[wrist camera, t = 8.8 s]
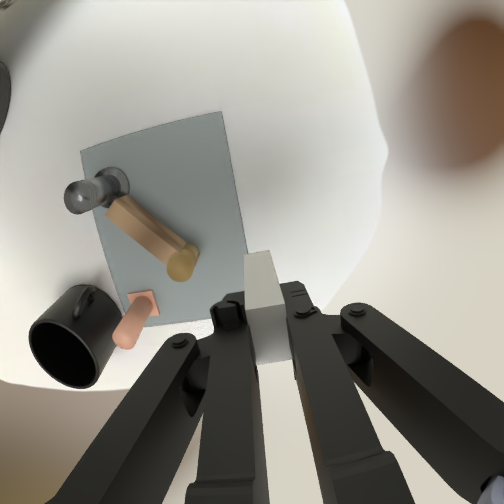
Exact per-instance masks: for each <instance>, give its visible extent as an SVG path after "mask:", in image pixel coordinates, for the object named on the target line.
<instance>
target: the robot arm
mask: <svg viewBox="0 0 504 504" xmlns="http://www.w3.org/2000/svg"><path fill="white" fill-rule="evenodd" d="M9 99H10V78H9V74H8V71H7V68H6V67H5V65H4V64H3V63H1V62H0V132H1V129H2V127H3V124H4V121H5V118H6V114H7V110H8V105H9ZM244 287H245V291H240V292H234V293H228V294H226V295H225V296H224V298H223V299H222V301H220V302H217V303H215V304H214V305H213V306H211V308H210V310H209V311H210V314H211V318H212V322H213V325H214V333H213V334H211V335H210V336H207V337H205V338H202V339H199V340H196V337H195V336H194V335H193V334H190V333H179V334H176V335H173V336H172V337H170V338H168V339H167V340H166V341H165V342H164V344H163V345H162V346H161V348H160V349H159V350H158V352H157V353H156V354H155V356H154V357H153V359H152V360H151V361H150V363H149V364H148V365H147V367H146V368H145V370H144V371H143V372H142V374H141V375H140V376H139V378H138V379H137V380H136V382H135V383H134V385H133V386H132V387H131V389H130V390H129V392H128V393H127V394H126V396H125V397H124V399H123V400H122V401H121V403H120V404H119V405H118V407H117V408H116V410H115V411H114V412H113V414H112V415H111V417H110V418H109V419H108V421H107V422H106V424H105V425H104V426H103V428H102V429H101V431H100V432H99V433H98V435H97V436H96V438H95V439H94V440H93V442H92V443H91V445H90V446H89V448H88V449H87V450H86V452H85V454H84V455H83V456H82V458H81V459H80V461H79V462H78V463H77V465H76V466H75V468H74V469H73V470H72V472H71V473H70V475H69V476H68V478H67V479H66V481H65V482H64V483H63V485H62V486H61V488H60V489H59V491H58V492H57V494H56V495H55V496H54V497H53V498H52V499H51V500H49V501H48V502H46V503H45V504H162V502H163V500H164V498H165V496H166V494H167V491H168V489H169V487H170V485H171V482H172V481H173V478H174V476H175V474H176V472H177V470H178V467H179V465H180V463H181V461H182V459H183V456H184V454H185V452H186V449H187V448H188V445H189V443H190V441H191V439H192V436H193V434H194V432H195V430H196V427H197V425H198V423H199V421H200V418H201V416H202V414H203V421H202V431H201V439H200V449H199V458H198V469H197V477H196V481H195V482H194V483H190V484H189V486H188V487H187V491H186V495H185V504H270V502H269V490H268V479H267V468H266V458H265V446H264V435H263V423H262V412H261V400H260V389H259V377H258V370H257V365H260V364H267V363H273V362H279V361H285V360H290V359H292V360H293V368H294V377H295V380H296V381H297V385H298V390H299V394H300V398H301V403H302V407H303V411H304V416H305V420H306V425H307V429H308V433H309V438H310V442H311V447H312V452H313V457H314V461H315V466H316V470H317V475H318V480H319V484H320V489H321V494H322V498H323V503H324V504H415V502H414V500H413V497H412V495H411V493H410V490H409V488H408V485H407V483H406V480H405V478H404V476H403V473H402V471H401V469H400V466H399V464H398V462H397V460H396V458H395V456H394V454H393V453H391V452H390V451H385V450H384V449H383V448H382V446H381V444H380V441H379V439H378V437H377V434H376V432H375V430H374V427H373V425H372V423H371V421H370V418H369V416H368V413H367V411H366V409H365V407H364V404H363V402H362V400H361V398H360V395H359V393H358V391H357V389H356V387H355V384H354V382H355V383H356V384H357V385H358V387H359V388H360V389H361V390H362V391H363V392H364V393H365V394H366V396H367V397H368V398H369V399H370V400H371V401H372V402H373V403H374V404H375V406H376V407H377V408H378V409H379V410H380V411H381V412H382V413H383V414H384V415H385V417H386V418H387V419H388V420H389V421H390V422H391V423H392V424H393V425H394V426H395V427H396V428H397V430H398V431H399V432H400V433H401V434H402V435H403V436H404V437H405V439H406V440H407V441H408V442H409V443H410V444H411V445H412V446H413V447H414V448H415V449H416V451H417V452H418V453H419V454H420V455H421V456H422V457H423V458H424V459H425V460H426V461H427V462H428V463H429V464H430V466H431V467H432V468H433V469H434V470H435V471H436V472H437V473H438V474H439V475H440V476H441V478H442V479H443V480H444V481H445V482H446V483H447V484H448V485H449V486H450V487H451V488H452V489H453V490H454V491H455V492H456V493H457V494H458V495H459V496H461V497H462V498H464V499H465V500H467V501H468V502H470V503H471V504H504V402H503V401H501V400H500V399H498V398H497V397H496V396H495V395H493V394H492V393H491V392H489V391H488V390H487V389H485V388H484V387H482V386H481V385H480V384H479V383H477V382H476V381H475V380H473V379H472V378H471V377H469V376H468V375H467V374H465V373H464V372H462V371H461V370H460V369H458V368H457V367H456V366H454V365H453V364H452V363H450V362H449V361H448V360H446V359H445V358H443V357H442V356H441V355H439V354H438V353H437V352H435V351H434V350H432V349H431V348H430V347H428V346H427V345H426V344H424V343H423V342H421V341H420V340H419V339H417V338H416V337H414V336H413V335H411V334H410V333H409V332H407V331H406V330H405V329H403V328H402V327H400V326H399V325H398V324H396V323H395V322H393V321H392V320H390V319H389V318H387V317H386V316H385V315H383V314H382V313H381V312H379V311H378V310H376V309H375V308H373V307H372V306H370V305H368V304H365V303H352V304H348V305H346V306H344V307H343V308H342V309H341V312H340V315H326V314H322V313H321V311H320V309H319V308H318V307H316V306H313V303H312V301H311V299H310V297H309V295H308V293H307V291H306V288H305V286H304V284H302V283H300V282H299V281H294V282H288V283H283V284H279V281H278V278H277V275H276V271H275V268H274V264H273V261H272V258H271V254H270V251H269V250H268V251H262V252H256V253H250V254H244ZM256 364H257V365H256ZM353 381H354V382H353Z"/></svg>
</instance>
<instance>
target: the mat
mask: <svg viewBox="0 0 504 504" xmlns="http://www.w3.org/2000/svg"><path fill="white" fill-rule="evenodd" d="M80 153H81V159H82V164H83V169H84V174H85V179H90V178H94V177H95V175H96V174H97V173H98V172H99V171H100V170H102V169H104V168H107V167H116V168H119V169H121V170H122V171H123V172H124V173H125V174H126V176H127V178H128V180H129V185H130V189H129V194H128V196H130V197H131V198H132V199H133V200H134V201H136V202H137V203H138V204H139V205H141V206H142V207H143V208H144V209H145V210H147V211H148V212H149V213H150V214H152V215H153V216H154V217H155V218H157V219H158V220H159V221H160V222H162V223H163V224H164V225H165V226H167V227H168V228H169V229H170V230H172V231H173V232H174V233H175V234H177V235H178V236H179V237H180V238H182V239H183V240H184V241H186V242H188V243H192V244H194V245H195V246H196V247H197V248H198V251H199V252H200V256H199V258H198V261H197V264H196V266H195V268H194V271H193V274H192V276H191V278H190V279H189V280H187V281H185V282H176V281H174V280H172V279H171V278H170V277H169V275H168V273H167V265H165V264H164V263H163V262H161V261H160V260H159V259H158V258H156V257H155V256H154V255H152V254H151V253H150V252H149V251H147V250H146V249H145V248H144V247H142V246H141V245H140V244H139V243H137V242H136V241H135V240H134V239H132V238H131V237H130V236H129V235H128V234H126V233H125V232H124V231H123V230H121V229H120V228H119V227H118V226H117V225H115V224H114V223H113V222H112V221H111V220H109V219H108V218H107V217H106V216H105V214H106V212H107V211H108V209H109V208H104V207H102V206H98V207H96V208H93V209H92V210H93V214H94V218H95V222H96V226H97V229H98V233H99V236H100V240H101V243H102V247H103V250H104V253H105V257H106V260H107V263H108V266H109V269H110V272H111V275H112V278H113V281H114V284H115V287H116V290H117V293H118V296H119V298H120V301H121V304H122V307H123V309H124V312H125V313H126V312H127V310H128V309H129V307H130V306H131V304H130V302H129V299H128V296H127V294H128V293H132V292H138V291H145V290H151V289H152V290H153V293H154V296H155V299H156V302H157V305H158V308H159V311H160V315H157V316H149V317H148V319H147V321H146V323H145V325H144V327H151V326H159V325H167V324H175V323H182V322H190V321H197V320H204V319H211V314H210V311H209V310H210V308H211V306H213V305H214V304H215V303H217V302H220V301H222V299H223V298H224V296H225V295H226V294H228V293H234V292H240V291H245V287H244V254H248V252H247V247H246V242H245V237H244V231H243V226H242V221H241V215H240V210H239V204H238V199H237V194H236V188H235V183H234V178H233V172H232V167H231V161H230V156H229V150H228V145H227V140H226V134H225V129H224V123H223V118H222V112H221V111H220V112H215V113H210V114H205V115H201V116H196V117H192V118H187V119H183V120H179V121H175V122H171V123H167V124H163V125H159V126H156V127H152V128H149V129H145V130H142V131H138V132H135V133H132V134H128V135H125V136H122V137H119V138H116V139H113V140H110V141H107V142H104V143H101V144H98V145H95V146H93V147H90V148H87V149H85V150H82V151H80Z"/></svg>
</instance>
